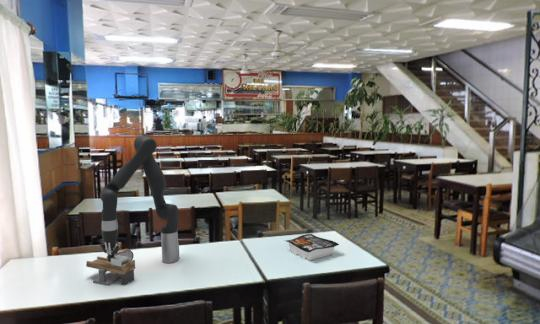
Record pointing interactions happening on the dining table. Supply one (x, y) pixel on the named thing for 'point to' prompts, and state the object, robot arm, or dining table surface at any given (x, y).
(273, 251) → the dining table surface
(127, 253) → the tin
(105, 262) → the balance beam
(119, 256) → the block
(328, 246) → the food packaging
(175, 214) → the robot arm
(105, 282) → the pivot stand
